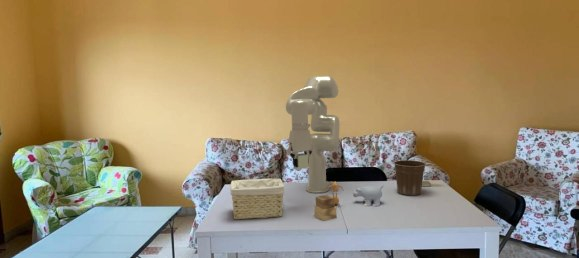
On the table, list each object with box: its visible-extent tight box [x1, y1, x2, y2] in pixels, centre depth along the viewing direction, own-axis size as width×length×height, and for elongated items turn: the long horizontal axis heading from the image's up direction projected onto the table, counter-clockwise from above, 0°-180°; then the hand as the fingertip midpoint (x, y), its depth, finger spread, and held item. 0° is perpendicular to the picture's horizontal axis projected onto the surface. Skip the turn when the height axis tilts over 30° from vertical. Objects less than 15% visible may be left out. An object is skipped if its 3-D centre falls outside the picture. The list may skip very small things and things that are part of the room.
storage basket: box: [229, 178, 285, 220], centre depth 178 cm, size 24×16×15 cm
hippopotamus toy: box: [352, 183, 385, 207], centre depth 191 cm, size 11×15×10 cm
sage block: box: [294, 152, 309, 170], centre depth 181 cm, size 5×5×6 cm
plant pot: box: [393, 159, 427, 197], centre depth 205 cm, size 16×16×16 cm
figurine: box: [327, 181, 345, 206], centre depth 188 cm, size 8×6×12 cm
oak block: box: [314, 204, 338, 221], centre depth 173 cm, size 7×7×5 cm
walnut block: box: [315, 194, 336, 209], centre depth 172 cm, size 6×6×4 cm
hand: (301, 165), depth 181 cm, fingers closed on sage block, 5 cm apart
